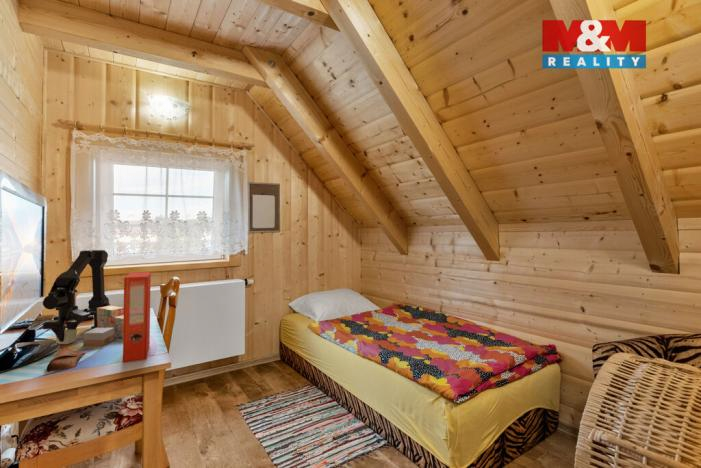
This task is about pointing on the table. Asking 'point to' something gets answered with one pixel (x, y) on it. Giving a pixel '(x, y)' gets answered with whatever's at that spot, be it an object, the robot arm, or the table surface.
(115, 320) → the stack of blocks
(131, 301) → the file binder
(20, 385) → the table surface
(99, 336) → the grey top block
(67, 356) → the sunglasses case
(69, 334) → the sage cube
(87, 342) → the walnut base block
